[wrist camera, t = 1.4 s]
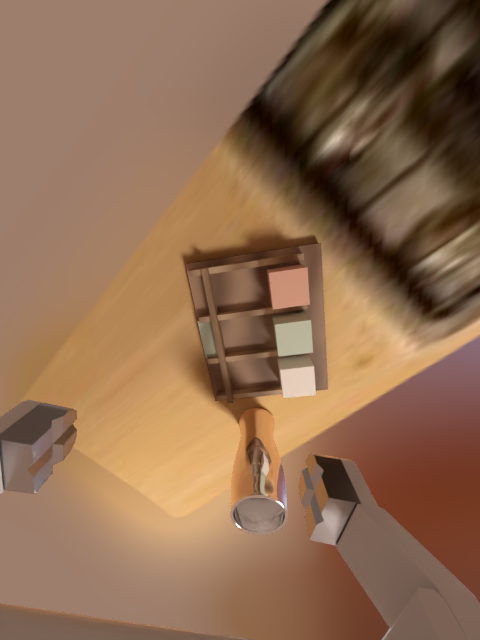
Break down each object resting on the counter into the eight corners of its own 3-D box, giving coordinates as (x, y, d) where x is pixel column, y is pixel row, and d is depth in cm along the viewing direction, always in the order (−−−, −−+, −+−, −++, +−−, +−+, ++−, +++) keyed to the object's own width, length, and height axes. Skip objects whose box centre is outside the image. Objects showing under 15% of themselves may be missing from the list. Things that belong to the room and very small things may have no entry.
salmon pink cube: (300, 264, 32) (307, 267, 28) (303, 297, 33) (310, 304, 29) (266, 269, 32) (268, 273, 28) (270, 301, 33) (272, 309, 30)
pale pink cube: (307, 352, 36) (314, 366, 32) (309, 379, 37) (315, 394, 33) (277, 356, 36) (280, 369, 32) (280, 382, 37) (283, 398, 33)
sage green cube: (304, 311, 34) (311, 320, 30) (306, 340, 35) (313, 352, 31) (272, 315, 34) (274, 324, 30) (275, 344, 35) (278, 356, 32)
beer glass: (228, 416, 41) (216, 508, 27) (263, 398, 40) (269, 485, 26) (250, 443, 43) (249, 543, 29) (284, 427, 42) (301, 524, 27)
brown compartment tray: (318, 242, 32) (325, 243, 29) (325, 384, 39) (332, 397, 35) (187, 263, 34) (181, 265, 30) (216, 396, 40) (213, 408, 37)
